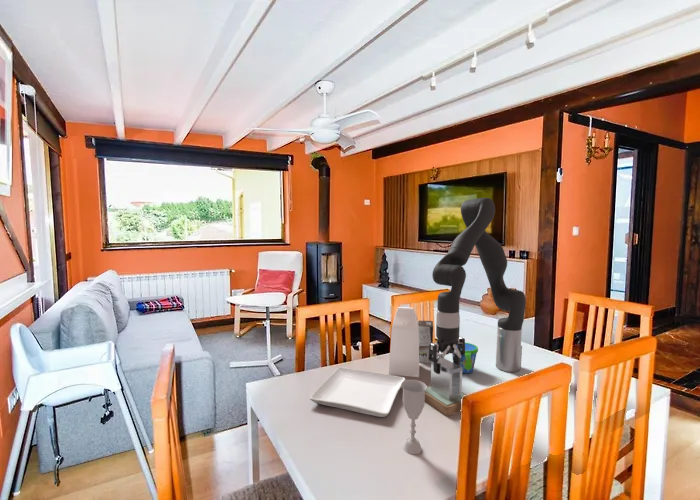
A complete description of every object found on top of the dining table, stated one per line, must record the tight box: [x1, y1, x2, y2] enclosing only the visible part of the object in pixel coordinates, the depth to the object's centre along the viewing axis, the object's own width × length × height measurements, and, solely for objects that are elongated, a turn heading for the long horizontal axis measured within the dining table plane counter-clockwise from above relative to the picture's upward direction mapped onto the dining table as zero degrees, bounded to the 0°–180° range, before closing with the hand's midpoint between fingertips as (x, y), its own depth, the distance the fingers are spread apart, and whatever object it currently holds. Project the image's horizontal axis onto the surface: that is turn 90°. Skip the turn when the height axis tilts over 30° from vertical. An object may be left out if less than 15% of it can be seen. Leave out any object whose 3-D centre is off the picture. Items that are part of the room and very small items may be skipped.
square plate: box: [309, 366, 406, 418], centre depth 134 cm, size 27×27×4 cm
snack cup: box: [451, 342, 479, 374], centre depth 155 cm, size 16×10×10 cm
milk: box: [388, 306, 420, 378], centre depth 154 cm, size 12×12×26 cm
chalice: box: [401, 379, 428, 455], centre depth 103 cm, size 7×7×18 cm
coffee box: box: [418, 320, 434, 364], centre depth 166 cm, size 9×6×16 cm
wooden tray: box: [425, 385, 468, 418], centre depth 129 cm, size 12×14×3 cm
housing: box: [430, 357, 463, 400], centre depth 128 cm, size 6×9×10 cm, turn 29°
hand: (446, 370), depth 128 cm, fingers open, 8 cm apart
